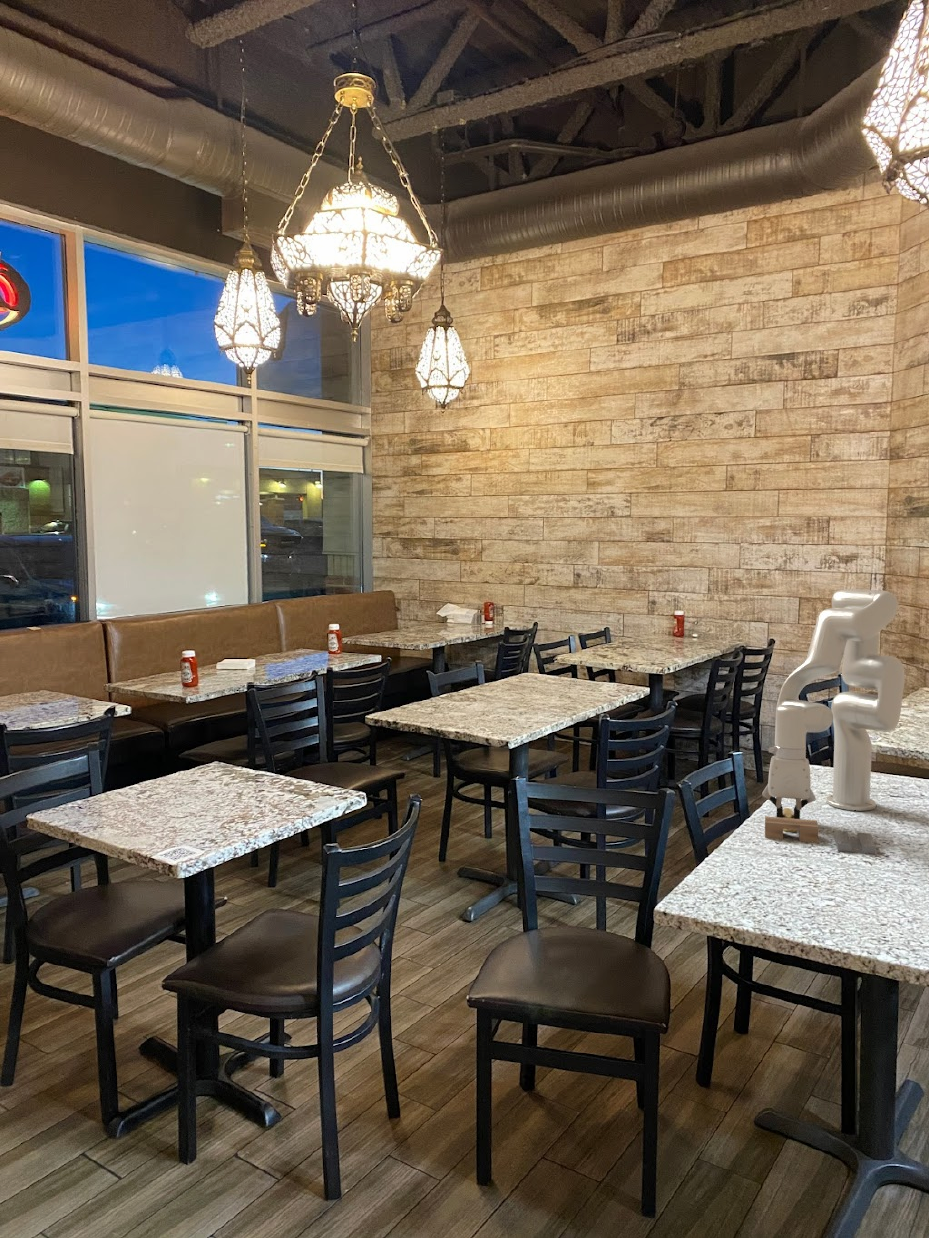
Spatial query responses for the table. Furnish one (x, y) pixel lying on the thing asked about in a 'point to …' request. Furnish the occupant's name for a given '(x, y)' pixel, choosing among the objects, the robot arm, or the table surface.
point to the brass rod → (788, 814)
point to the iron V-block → (855, 843)
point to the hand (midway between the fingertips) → (787, 822)
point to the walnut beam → (805, 827)
